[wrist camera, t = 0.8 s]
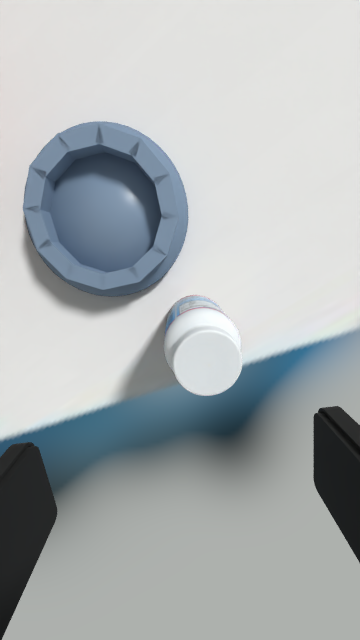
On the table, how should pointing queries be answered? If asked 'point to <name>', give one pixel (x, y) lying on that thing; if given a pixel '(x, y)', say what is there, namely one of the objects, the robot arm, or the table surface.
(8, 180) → the table surface
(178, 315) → the pill bottle
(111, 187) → the round tray
